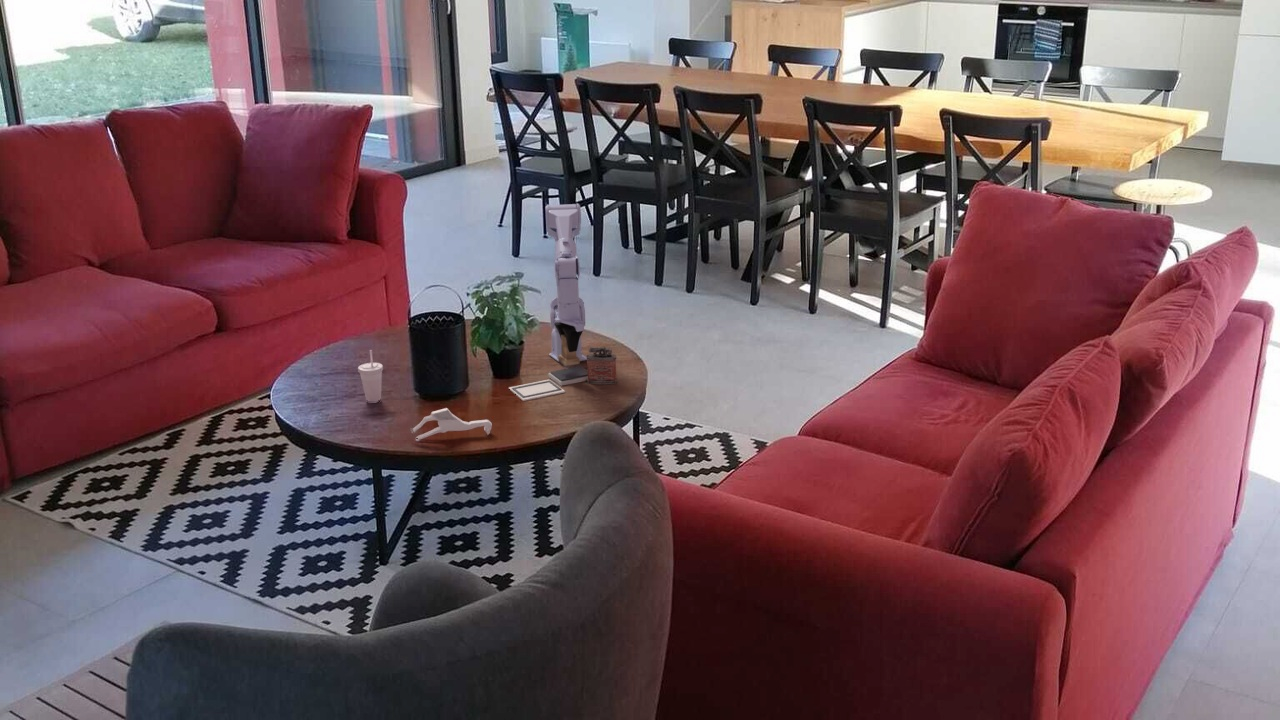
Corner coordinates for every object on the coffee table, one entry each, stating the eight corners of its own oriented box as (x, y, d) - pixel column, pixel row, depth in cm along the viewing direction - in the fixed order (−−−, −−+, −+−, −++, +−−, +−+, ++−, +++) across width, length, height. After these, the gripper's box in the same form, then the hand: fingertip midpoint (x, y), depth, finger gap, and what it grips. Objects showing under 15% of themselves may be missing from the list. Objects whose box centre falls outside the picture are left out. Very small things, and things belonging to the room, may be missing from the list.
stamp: (558, 361, 337) (558, 334, 334) (571, 359, 338) (571, 332, 336) (566, 367, 332) (565, 339, 330) (579, 365, 334) (579, 337, 332)
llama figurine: (429, 464, 301) (495, 431, 302) (407, 426, 297) (475, 393, 297) (428, 461, 303) (494, 428, 304) (407, 423, 298) (474, 390, 299)
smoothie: (391, 400, 324) (386, 350, 319) (370, 407, 319) (365, 356, 314) (376, 394, 328) (371, 345, 323) (356, 401, 323) (351, 351, 318)
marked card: (508, 388, 330) (508, 386, 330) (549, 380, 335) (549, 378, 335) (523, 401, 322) (523, 398, 322) (565, 392, 327) (565, 390, 327)
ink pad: (548, 376, 338) (548, 371, 338) (581, 370, 343) (581, 365, 342) (560, 385, 332) (560, 380, 331) (593, 379, 336) (593, 373, 335)
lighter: (617, 379, 335) (616, 345, 332) (616, 384, 332) (615, 349, 329) (588, 379, 336) (587, 344, 332) (586, 383, 333) (585, 349, 329)
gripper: (543, 296, 334) (545, 344, 338) (566, 310, 322) (568, 359, 326) (567, 292, 337) (568, 339, 342) (590, 306, 325) (591, 355, 330)
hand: (570, 349), depth 334 cm, fingers closed on stamp, 3 cm apart
